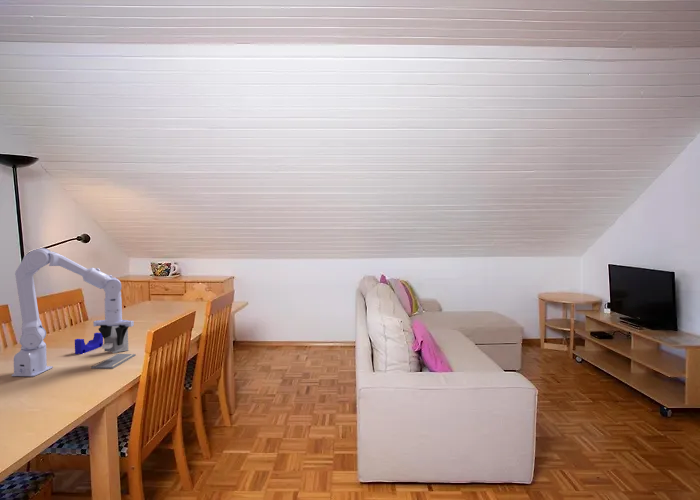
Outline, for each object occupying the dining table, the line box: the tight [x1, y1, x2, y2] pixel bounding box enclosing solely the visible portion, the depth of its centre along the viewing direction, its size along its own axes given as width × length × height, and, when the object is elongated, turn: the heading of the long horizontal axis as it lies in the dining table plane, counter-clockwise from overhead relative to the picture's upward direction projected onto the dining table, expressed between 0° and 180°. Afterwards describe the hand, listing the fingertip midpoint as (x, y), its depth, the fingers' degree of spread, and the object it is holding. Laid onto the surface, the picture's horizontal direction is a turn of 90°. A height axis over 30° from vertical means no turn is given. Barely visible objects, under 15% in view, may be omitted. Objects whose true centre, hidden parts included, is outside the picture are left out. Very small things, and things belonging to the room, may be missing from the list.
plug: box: [101, 334, 124, 353], centre depth 162 cm, size 4×9×5 cm, turn 178°
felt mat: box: [90, 353, 136, 370], centre depth 163 cm, size 16×8×1 cm, turn 179°
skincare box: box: [111, 326, 129, 354], centre depth 177 cm, size 6×4×12 cm
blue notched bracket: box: [74, 332, 104, 355], centre depth 178 cm, size 12×4×6 cm, turn 171°
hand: (114, 344), depth 163 cm, fingers closed on plug, 4 cm apart
